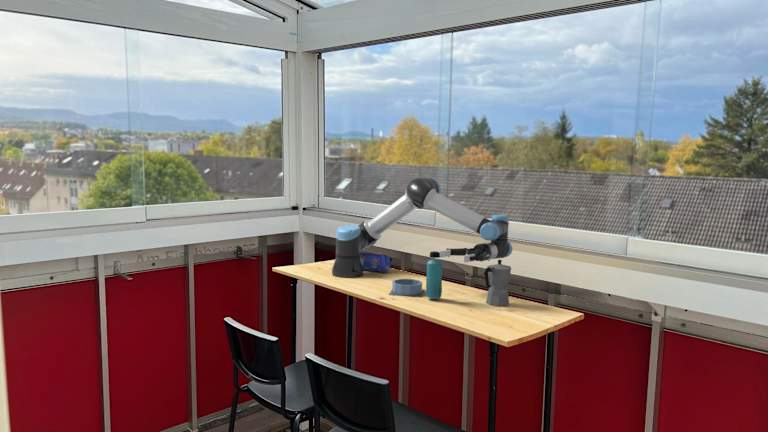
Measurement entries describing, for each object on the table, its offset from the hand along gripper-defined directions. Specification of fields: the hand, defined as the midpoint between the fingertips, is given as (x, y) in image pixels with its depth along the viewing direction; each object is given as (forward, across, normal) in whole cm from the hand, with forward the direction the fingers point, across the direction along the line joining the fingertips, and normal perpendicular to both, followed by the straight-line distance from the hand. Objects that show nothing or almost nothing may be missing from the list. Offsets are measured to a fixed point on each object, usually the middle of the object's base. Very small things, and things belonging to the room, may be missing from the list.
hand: (451, 256), depth 236 cm
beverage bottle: (+9, +1, -17) cm, 20 cm away
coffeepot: (-8, -18, -18) cm, 26 cm away
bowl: (+10, +16, -17) cm, 25 cm away
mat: (+10, +16, -17) cm, 25 cm away
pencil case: (-5, +61, -17) cm, 63 cm away
